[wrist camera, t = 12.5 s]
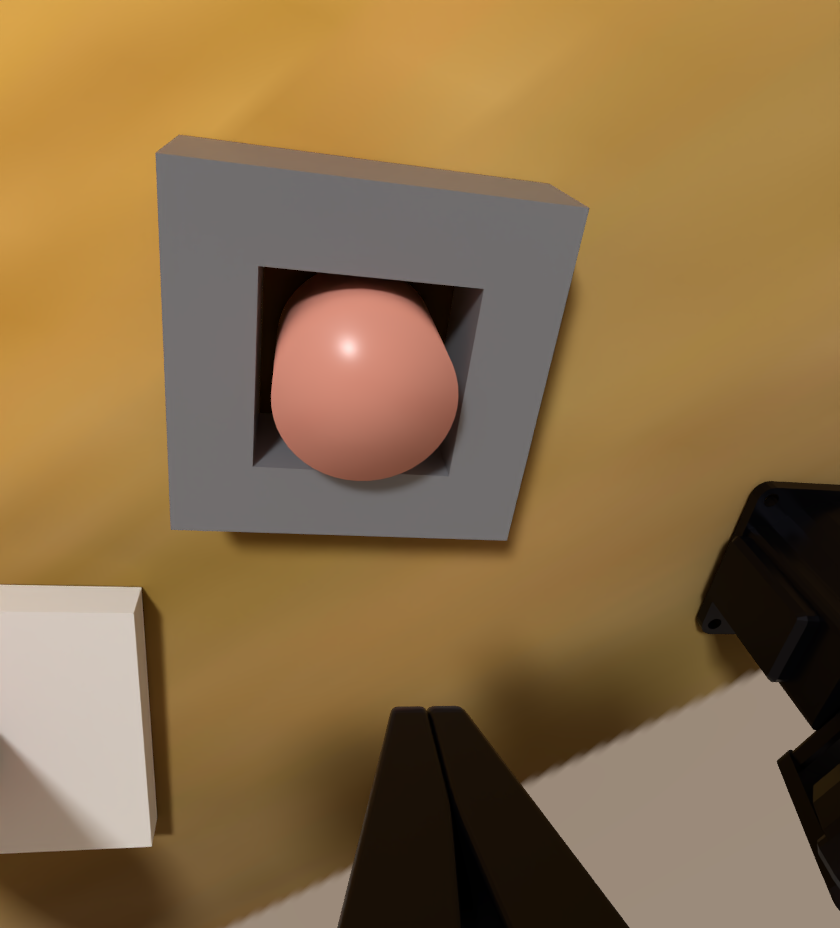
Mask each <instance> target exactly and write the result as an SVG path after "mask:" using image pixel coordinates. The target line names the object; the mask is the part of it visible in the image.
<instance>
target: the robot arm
mask: <svg viewBox="0 0 840 928" xmlns="http://www.w3.org/2000/svg"><path fill="white" fill-rule="evenodd" d="M769 495H771V496H770V497H769V498H767V499H766V497H767V496H769ZM765 499H766V500H765ZM697 622H698V624H699V626H700V627H701V629H702V630H703V631H704V632H705V633H708V634H736V635H737V636H738V638H739V639H740V640H741V642H742V643H743V645H744V646H745V647H746V649H747V650H748V652H749V653H750V654H751V656H752V657H753V659H754V660H755V661H756V663H757V664H758V665H759V667H760V668H761V670H762V671H763V672H764V674H765V675H766V677H767V678H768V679H769V680H770V681H771V682H779V683H780V684H781V686H782V687H783V689H784V690H785V691H786V693H787V694H788V696H789V697H790V698H791V700H792V701H793V702H794V704H795V705H796V707H797V708H798V709H799V711H800V712H801V713H802V715H803V716H804V717H805V719H806V720H807V722H808V723H809V724H810V726H811V727H812V728H813V729H814V730H816V731H815V732H814V733H813V734H812V735H811V736H810V737H808V738H807V739H806V740H805V741H804V742H803V743H802V744H801V745H799V746H798V747H797V748H796V749H795V750H794V751H792V750H789V751H788V752H786V753H785V754H784V755H783V756H782V757H781V758H780V759H778V760H777V764H778V766H779V769H780V771H781V774H782V776H783V779H784V781H785V784H786V786H787V789H788V792H789V794H790V797H791V799H792V801H793V804H794V806H795V809H796V811H797V814H798V816H799V819H800V821H801V824H802V826H803V829H804V831H805V834H806V836H807V839H808V841H809V844H810V846H811V849H812V851H813V854H814V856H815V859H816V861H817V864H818V866H819V869H820V871H821V874H822V876H823V878H824V880H825V883H826V885H827V888H828V890H829V893H830V895H831V897H832V900H833V902H834V904H835V905H836V907H837V908H838V909H839V910H840V485H831V484H812V483H793V482H774V481H769V482H764V483H762V484H760V485H758V486H757V487H756V488H755V489H754V490H753V492H752V494H751V496H750V498H749V500H748V503H747V505H746V507H745V509H744V512H743V514H742V516H741V519H740V521H739V523H738V525H737V528H736V530H735V532H734V534H733V537H732V539H731V541H730V544H729V546H728V548H727V550H726V553H725V555H724V557H723V559H722V562H721V564H720V566H719V569H718V571H717V573H716V575H715V578H714V580H713V582H712V584H711V587H710V589H709V591H708V593H707V596H706V598H705V600H704V603H703V605H702V607H701V609H700V612H699V614H698V616H697ZM337 928H629V927H628V925H627V924H626V923H625V921H624V920H623V918H622V917H621V916H620V915H619V913H618V912H617V911H616V909H615V908H614V907H613V905H612V904H611V903H610V901H609V900H608V899H607V897H606V896H605V895H604V893H603V892H602V891H601V890H600V888H599V887H598V886H597V884H596V883H595V882H594V880H593V879H592V878H591V876H590V875H589V874H588V872H587V871H586V870H585V868H584V867H583V866H582V864H581V863H580V862H579V860H578V859H577V858H576V856H575V855H574V854H573V853H572V851H571V850H570V849H569V847H568V846H567V845H566V843H565V842H564V841H563V839H562V838H561V837H560V835H559V834H558V833H557V831H556V830H555V829H554V827H553V826H552V825H551V824H550V822H549V821H548V819H547V818H546V817H545V816H544V814H543V813H542V812H541V810H540V809H539V808H538V806H537V805H536V804H535V802H534V801H533V800H532V798H531V797H530V796H529V794H528V793H527V792H526V790H525V789H524V788H523V786H522V785H521V784H520V783H519V781H518V780H517V779H516V777H515V776H514V775H513V773H512V772H511V771H510V769H509V768H508V767H507V765H506V764H505V763H504V761H503V760H502V759H501V757H500V756H499V755H498V753H497V752H496V751H495V750H494V748H493V747H492V746H491V744H490V743H489V742H488V740H487V739H486V738H485V736H484V735H483V734H482V732H481V731H480V730H479V728H478V727H477V726H476V724H475V723H474V722H473V720H472V719H471V718H470V716H469V715H468V714H467V713H466V711H465V710H464V709H462V708H461V707H459V706H432V707H429V708H428V709H427V711H426V709H425V708H423V707H420V706H416V707H395V708H393V709H392V710H391V713H390V717H389V721H388V725H387V729H386V733H385V737H384V741H383V745H382V749H381V753H380V757H379V761H378V765H377V769H376V773H375V777H374V781H373V785H372V789H371V793H370V798H369V802H368V806H367V810H366V814H365V818H364V822H363V826H362V830H361V834H360V838H359V842H358V846H357V850H356V854H355V858H354V862H353V866H352V870H351V874H350V878H349V883H348V887H347V891H346V895H345V899H344V903H343V907H342V911H341V915H340V919H339V923H338V927H337Z"/></svg>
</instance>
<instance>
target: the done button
mask: <svg viewBox="0 0 840 928" xmlns="http://www.w3.org/2000/svg"><path fill="white" fill-rule="evenodd" d="M457 406H458V382H457V377H456V373H455V370H454V367H453V364H452V362H451V360H450V357H449V355H448V353H447V351H446V348H445V346H444V344H443V342H442V339H441V337H440V335H439V333H438V331H437V328H436V326H435V324H434V322H433V319H432V317H431V315H430V313H429V311H428V309H427V306H426V304H425V302H424V301H423V300H422V298H421V297H420V295H419V294H418V293H417V292H416V290H415V289H414V288H413V287H412V286H411V285H410V284H408V283H407V282H406V281H401V280H391V279H381V278H371V277H361V276H352V275H342V274H332V273H322V272H320V273H318V274H316V275H315V276H313V277H311V278H310V279H308V280H307V281H306V282H304V283H303V284H302V285H301V286H300V287H299V288H298V289H297V290H296V291H295V292H294V293H293V295H292V296H291V297H290V298H289V300H288V302H287V303H286V305H285V307H284V309H283V311H282V314H281V316H280V320H279V324H278V329H277V338H276V348H275V359H274V369H273V379H272V389H271V407H272V413H273V418H274V421H275V424H276V427H277V429H278V431H279V433H280V435H281V437H282V439H283V440H284V442H285V443H286V445H287V446H288V447H289V448H290V450H291V451H292V452H293V453H294V454H295V455H296V456H297V457H298V458H300V459H301V460H302V461H303V462H304V463H306V464H307V465H309V466H311V467H312V468H314V469H316V470H318V471H320V472H322V473H324V474H327V475H330V476H333V477H336V478H340V479H345V480H353V481H372V480H380V479H384V478H389V477H392V476H395V475H398V474H401V473H403V472H405V471H407V470H409V469H412V468H413V467H415V466H416V465H418V464H420V463H421V462H423V461H424V460H425V459H426V458H427V457H429V456H430V455H431V454H432V453H433V452H434V451H435V450H436V449H437V448H438V447H439V445H440V444H441V443H442V441H443V440H444V439H445V437H446V435H447V434H448V432H449V430H450V428H451V426H452V423H453V421H454V419H455V415H456V411H457Z"/></svg>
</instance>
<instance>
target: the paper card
mask: <svg viewBox="0 0 840 928" xmlns="http://www.w3.org/2000/svg"><path fill="white" fill-rule="evenodd" d="M156 822H157V807H156V792H155V778H154V763H153V749H152V734H151V719H150V705H149V690H148V676H147V661H146V647H145V632H144V617H143V603H142V588H141V587H95V586H40V585H0V854H6V853H27V852H49V851H70V850H91V849H112V848H133V847H152V843H153V838H154V832H155V827H156Z"/></svg>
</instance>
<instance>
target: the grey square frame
mask: <svg viewBox="0 0 840 928" xmlns="http://www.w3.org/2000/svg"><path fill="white" fill-rule="evenodd" d="M156 173H157V198H158V223H159V248H160V272H161V297H162V322H163V347H164V372H165V397H166V422H167V446H168V471H169V496H170V521H171V530H198V531H229V532H259V533H290V534H320V535H351V536H382V537H412V538H443V539H473V540H504V541H507V538H508V534H509V530H510V526H511V522H512V518H513V514H514V510H515V506H516V502H517V498H518V494H519V490H520V485H521V481H522V477H523V473H524V469H525V465H526V461H527V457H528V453H529V449H530V445H531V441H532V437H533V433H534V429H535V425H536V421H537V417H538V413H539V409H540V405H541V401H542V397H543V393H544V389H545V385H546V381H547V377H548V373H549V369H550V365H551V361H552V356H553V352H554V348H555V344H556V340H557V336H558V332H559V328H560V324H561V320H562V316H563V312H564V308H565V304H566V300H567V296H568V292H569V288H570V284H571V280H572V276H573V272H574V268H575V264H576V260H577V256H578V252H579V248H580V244H581V240H582V236H583V232H584V227H585V223H586V219H587V215H588V211H589V208H588V207H587V206H585V205H583V204H582V203H580V202H579V201H577V200H575V199H574V198H572V197H570V196H569V195H567V194H565V193H564V192H562V191H560V190H559V189H557V188H555V187H554V186H552V185H550V184H547V183H539V182H531V181H524V180H516V179H509V178H501V177H494V176H486V175H479V174H471V173H464V172H456V171H449V170H441V169H434V168H426V167H418V166H411V165H403V164H396V163H388V162H381V161H373V160H366V159H358V158H351V157H343V156H336V155H328V154H320V153H313V152H305V151H298V150H290V149H283V148H275V147H268V146H260V145H253V144H245V143H238V142H230V141H222V140H215V139H207V138H200V137H192V136H185V135H178V136H177V137H175V138H174V139H173V140H172V141H170V142H169V143H168V144H166V145H165V146H164V147H163V148H161V149H160V150H159V151H157V152H156ZM264 267H273V268H283V269H292V270H302V271H312V272H322V273H332V274H342V275H352V276H361V277H371V278H381V279H391V280H401V281H411V282H421V283H430V284H440V285H450V286H454V292H453V298H452V304H451V310H450V316H449V322H448V328H447V334H446V340H445V348H446V351H447V353H448V355H449V357H450V360H451V362H452V364H453V367H454V370H455V373H456V377H457V382H458V406H457V411H456V415H455V419H454V421H453V423H452V426H451V428H450V430H449V432H448V434H447V435H446V437H445V439H444V440H443V441H442V443H441V444H440V445H439V447H438V448H437V449H436V450H435V451H434V452H433V453H432V454H431V455H430V456H429V457H427V458H426V459H425V460H424V461H423V462H421V463H420V464H418V465H416V466H415V467H413V468H412V469H409V470H407V471H405V472H403V473H401V474H398V475H395V476H392V477H389V478H384V479H380V480H372V481H353V480H345V479H340V478H336V477H333V476H330V475H327V474H324V473H322V472H320V471H318V470H316V469H314V468H312V467H311V466H309V465H307V464H306V463H304V462H303V461H302V460H301V459H300V458H298V457H297V456H296V455H295V454H294V453H293V452H292V451H291V450H290V448H289V447H288V446H287V445H286V443H285V442H284V440H283V439H282V437H281V435H280V433H279V431H278V429H277V427H276V424H275V421H274V418H273V413H259V407H260V375H261V344H262V313H263V281H264Z"/></svg>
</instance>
